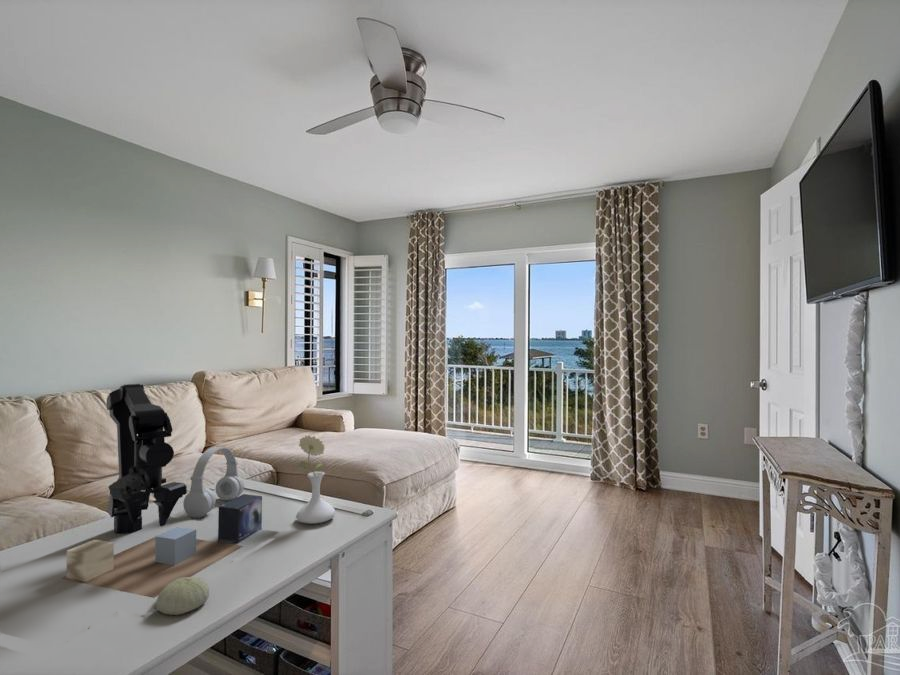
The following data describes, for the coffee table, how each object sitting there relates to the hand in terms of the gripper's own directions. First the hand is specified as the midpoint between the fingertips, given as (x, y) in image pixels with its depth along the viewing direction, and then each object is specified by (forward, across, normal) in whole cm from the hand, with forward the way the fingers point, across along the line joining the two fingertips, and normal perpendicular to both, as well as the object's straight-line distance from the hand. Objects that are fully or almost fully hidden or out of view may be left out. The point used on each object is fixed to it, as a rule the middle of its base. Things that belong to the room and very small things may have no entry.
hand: (148, 523), depth 113 cm
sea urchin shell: (+9, +26, -13) cm, 30 cm away
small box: (+9, +14, +16) cm, 23 cm away
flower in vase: (+9, +25, +34) cm, 43 cm away
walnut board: (+8, +6, -2) cm, 11 cm away
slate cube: (+4, +6, 0) cm, 7 cm away
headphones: (+9, -12, +34) cm, 37 cm away
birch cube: (+7, -3, -11) cm, 14 cm away
